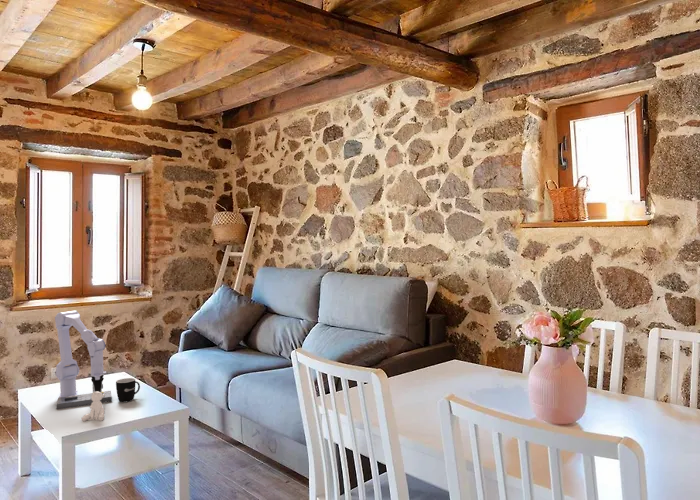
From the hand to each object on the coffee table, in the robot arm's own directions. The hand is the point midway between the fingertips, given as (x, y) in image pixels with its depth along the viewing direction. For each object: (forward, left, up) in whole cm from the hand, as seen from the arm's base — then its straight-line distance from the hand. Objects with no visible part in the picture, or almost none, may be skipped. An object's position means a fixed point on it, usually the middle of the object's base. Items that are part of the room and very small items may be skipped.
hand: (98, 390), depth 265 cm
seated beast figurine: (+30, -1, -5) cm, 30 cm away
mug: (+7, +14, -5) cm, 16 cm away
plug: (0, 0, -3) cm, 3 cm away
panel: (0, -6, -5) cm, 8 cm away
